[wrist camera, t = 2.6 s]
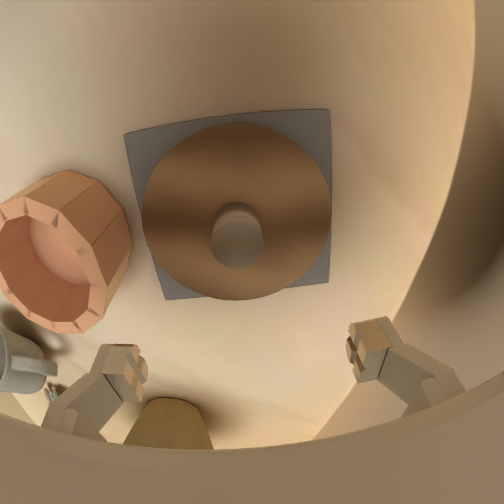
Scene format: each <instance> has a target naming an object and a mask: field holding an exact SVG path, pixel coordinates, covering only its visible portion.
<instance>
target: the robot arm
mask: <svg viewBox="0 0 504 504" xmlns="http://www.w3.org/2000/svg"><path fill="white" fill-rule="evenodd" d="M348 331H349V334H350V336H349V337H348V339H347V342H346V352H347V356H348V359H349V362H350V363H352V364H353V365H354V367H353V373H354V375H355V378H356V380H357V383H362V382H367V381H371V380H376V379H378V381H379V382H381V383H382V384H383V385H384V386H386V387H387V388H388V389H389V390H391V391H392V392H393V393H394V394H395V395H397V396H398V397H399V398H400V399H402V400H403V401H404V402H405V403H407V404H408V407H407V408H406V410H405V411H404V413H403V415H402V416H401V418H399V419H396V420H393V421H389V422H386V423H383V424H380V425H376V426H373V427H369V428H366V429H362V430H358V431H354V432H350V433H345V434H341V435H336V436H332V437H327V438H322V439H316V440H311V441H305V442H298V443H291V444H284V445H276V446H267V447H256V448H242V449H219V450H188V449H165V448H152V447H141V446H132V445H124V444H117V443H110V442H107V440H106V439H105V438H104V437H103V436H102V435H101V434H100V433H99V431H100V430H101V428H102V427H103V426H104V425H105V424H106V423H107V421H108V420H109V419H110V418H111V417H112V415H113V414H114V413H115V412H116V411H117V410H118V408H119V407H120V406H121V405H122V404H123V402H142V398H143V394H144V388H143V386H142V384H143V383H144V382H146V381H147V376H148V367H147V364H146V361H145V359H144V358H143V357H141V356H140V355H139V354H140V349H139V347H138V346H137V345H135V344H102V345H101V346H100V348H99V351H98V353H97V355H96V358H95V360H94V363H93V365H92V368H91V370H90V373H86V374H85V375H83V376H82V377H81V378H80V379H79V380H77V381H76V382H75V383H74V384H73V385H71V386H70V387H69V388H68V389H67V390H65V391H64V392H63V393H62V394H61V395H59V396H58V397H57V398H56V399H55V400H53V401H52V402H51V403H50V404H49V407H48V409H47V412H46V415H45V417H44V420H43V422H42V425H41V427H40V426H37V425H33V424H30V423H27V422H24V421H21V420H18V419H16V418H13V417H10V416H8V415H5V414H2V413H0V504H504V371H503V372H502V373H500V374H498V375H497V376H495V377H493V378H491V379H489V380H487V381H486V382H484V383H482V384H480V385H478V386H476V387H474V388H472V389H470V390H468V391H466V390H465V389H464V387H463V385H462V383H461V382H460V380H459V378H458V377H457V375H456V373H455V372H454V370H453V368H451V367H449V366H447V365H445V364H444V363H442V362H440V361H438V360H436V359H434V358H433V357H431V356H429V355H427V354H426V353H424V352H422V351H420V350H418V349H416V348H415V347H413V346H411V345H409V344H404V343H403V341H402V340H401V338H400V336H399V335H398V333H397V331H396V330H395V328H394V326H393V325H392V323H391V321H390V320H389V318H388V317H386V316H385V317H380V318H375V319H371V320H366V321H361V322H356V323H351V324H350V326H349V330H348Z"/></svg>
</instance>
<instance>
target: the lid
mask: <svg viewBox="0 0 504 504" xmlns="http://www.w3.org/2000/svg"><path fill="white" fill-rule="evenodd" d="M141 213H142V226H143V231H144V235H145V238H146V241H147V244H148V246H149V248H150V250H151V252H152V254H153V256H154V258H155V259H156V260H157V262H158V263H159V265H160V266H161V267H162V268H163V269H164V270H165V272H166V273H167V274H169V275H170V276H171V277H172V278H173V279H174V280H176V281H177V282H178V283H180V284H181V285H183V286H184V287H186V288H188V289H190V290H192V291H194V292H197V293H199V294H202V295H204V296H208V297H212V298H216V299H222V300H249V299H255V298H260V297H264V296H267V295H270V294H273V293H275V292H278V291H280V290H282V289H284V288H285V287H287V286H289V285H290V284H292V283H293V282H295V281H296V280H298V279H299V278H300V277H301V276H302V275H303V274H305V273H306V272H307V271H308V269H309V268H310V267H311V266H312V265H313V264H314V262H315V261H316V260H317V258H318V257H319V255H320V253H321V251H322V250H323V248H324V246H325V243H326V240H327V238H328V235H329V230H330V226H331V217H332V208H331V198H330V193H329V189H328V186H327V184H326V181H325V178H324V176H323V174H322V173H321V171H320V169H319V167H318V166H317V164H316V163H315V162H314V160H313V159H312V158H311V157H310V156H309V155H308V154H307V153H306V152H305V151H304V150H303V149H302V148H301V147H300V146H299V145H297V144H296V143H295V142H293V141H292V140H291V139H289V138H287V137H285V136H284V135H282V134H280V133H278V132H276V131H273V130H270V129H268V128H265V127H261V126H256V125H251V124H239V123H238V124H223V125H218V126H213V127H210V128H207V129H204V130H201V131H198V132H196V133H194V134H192V135H190V136H188V137H187V138H185V139H184V140H182V141H181V142H180V143H178V144H177V145H175V146H174V147H173V148H172V149H171V150H170V151H169V152H168V153H167V154H166V155H165V156H164V157H163V158H162V159H161V160H160V162H159V163H158V164H157V166H156V167H155V169H154V171H153V172H152V174H151V176H150V178H149V180H148V183H147V185H146V188H145V192H144V196H143V200H142V211H141Z"/></svg>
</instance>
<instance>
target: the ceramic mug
mask: <svg viewBox="0 0 504 504" xmlns="http://www.w3.org/2000/svg"><path fill="white" fill-rule="evenodd" d="M57 369H58V367H57V364H56V363H54V362H49V361H46V358H45V355H44V353H43V351H42V350H41V348H40V347H39V346H38V345H37V344H36V343H34V342H33V341H31V340H30V339H28V338H25V337H23V336H20V335H18V334H16V333H13V332H11V331H9V330H7V329H5V328H3V327H1V326H0V391H1V392H10V393H20V394H31V393H35V392H37V391H39V390H40V389H41V388H42V387H43V385H44V383H45V380H46V377H47V376H55V377H57Z"/></svg>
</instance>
